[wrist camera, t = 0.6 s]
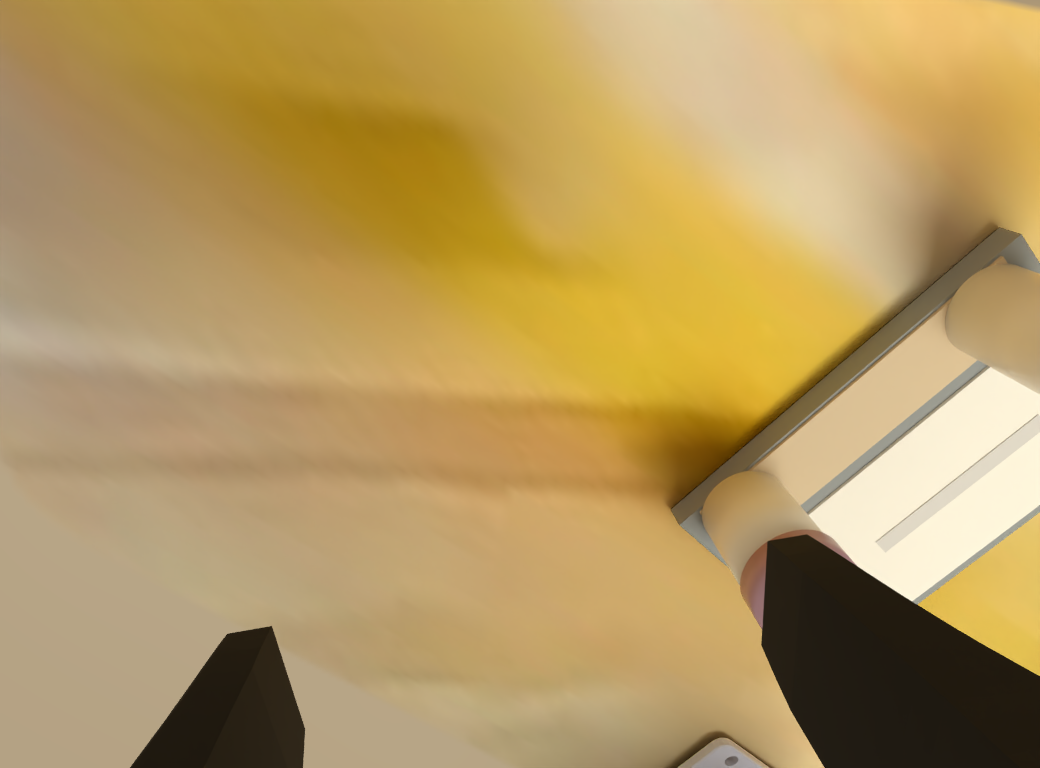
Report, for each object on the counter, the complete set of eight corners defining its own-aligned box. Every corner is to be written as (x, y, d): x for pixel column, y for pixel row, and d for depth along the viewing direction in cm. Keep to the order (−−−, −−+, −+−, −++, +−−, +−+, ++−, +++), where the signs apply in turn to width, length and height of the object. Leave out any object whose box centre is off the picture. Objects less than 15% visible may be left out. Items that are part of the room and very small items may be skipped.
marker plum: (806, 503, 22) (885, 593, 18) (735, 562, 23) (797, 660, 19) (753, 450, 21) (825, 534, 17) (679, 513, 21) (734, 607, 18)
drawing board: (1123, 420, 23) (1149, 434, 23) (826, 646, 26) (841, 666, 25) (999, 227, 20) (1025, 235, 19) (670, 509, 22) (681, 527, 22)
